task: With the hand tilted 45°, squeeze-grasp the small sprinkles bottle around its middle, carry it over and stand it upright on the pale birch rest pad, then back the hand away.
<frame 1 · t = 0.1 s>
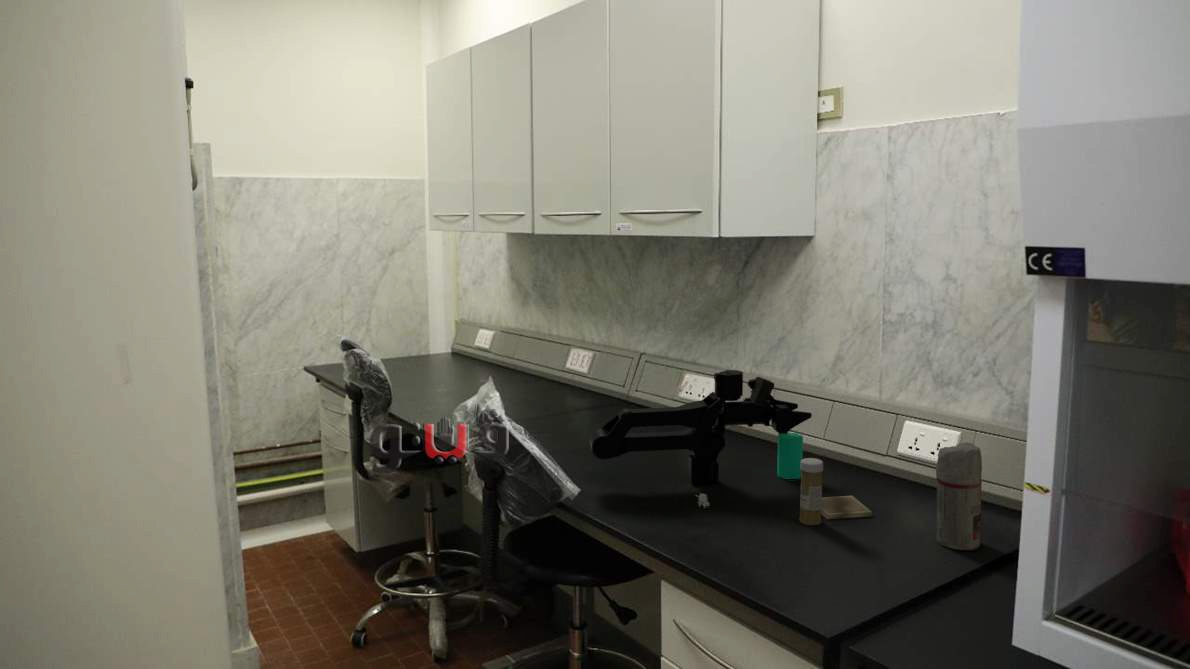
hand: (804, 410, 197), 17 cm above the lab bench, tool horizontal, fingers open, 9 cm apart
candle: (789, 477, 199), on the lab bench
sprinkles bottle: (810, 523, 170), on the lab bench
small grey figurine: (699, 510, 179), on the lab bench
spray can: (957, 544, 158), on the lab bench
rest pad: (839, 509, 177), on the lab bench
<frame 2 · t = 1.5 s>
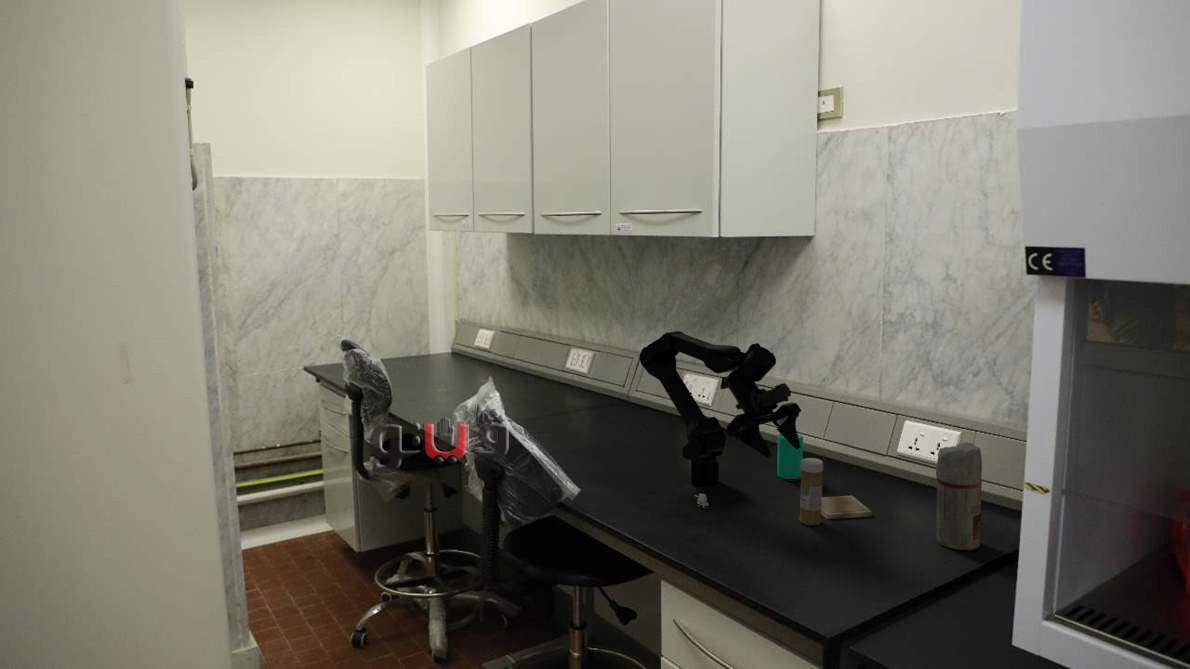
hand: (784, 452, 174), 13 cm above the lab bench, tool tilted 45°, fingers open, 9 cm apart
nothing on the lab bench moved.
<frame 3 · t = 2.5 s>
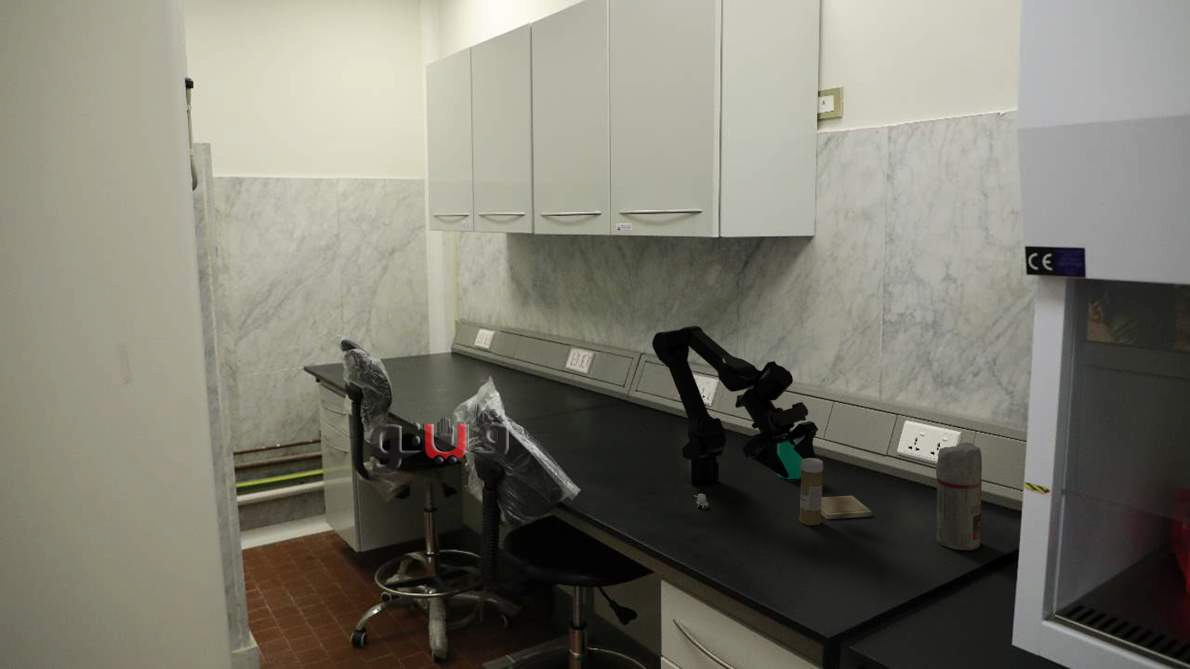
hand: (802, 472, 170), 10 cm above the lab bench, tool tilted 45°, fingers open, 9 cm apart
nothing on the lab bench moved.
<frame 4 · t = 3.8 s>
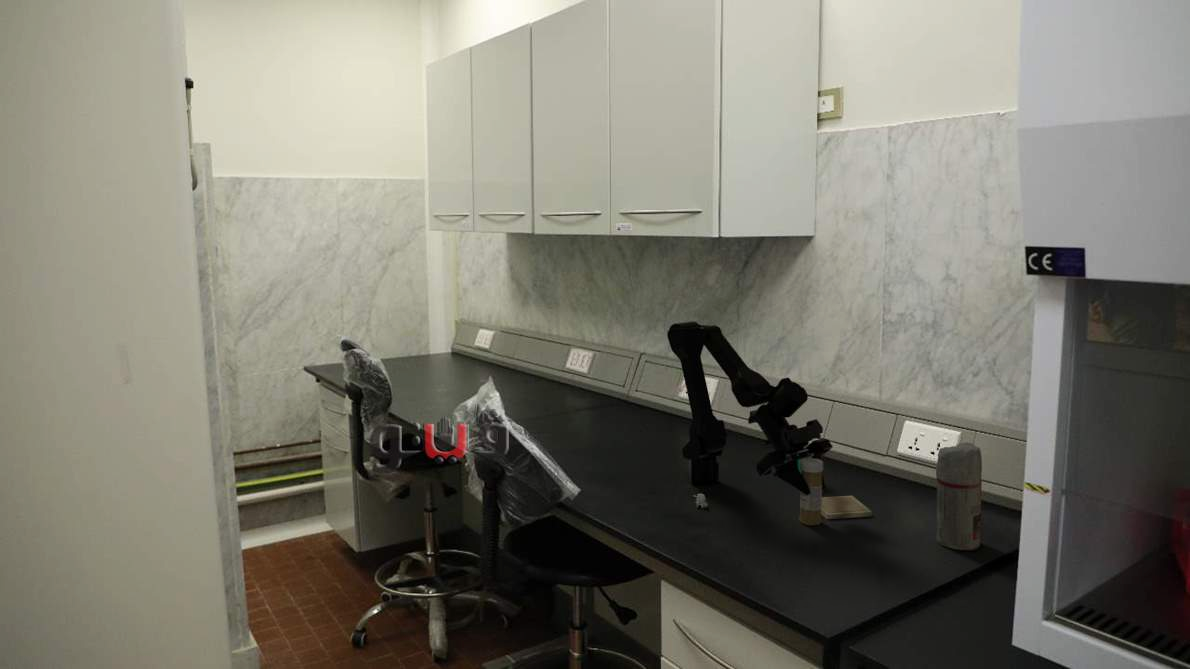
hand: (816, 491, 168), 7 cm above the lab bench, tool tilted 45°, fingers closed on sprinkles bottle, 4 cm apart
sprinkles bottle: (810, 523, 170), on the lab bench, touching gripper
everything else where it was.
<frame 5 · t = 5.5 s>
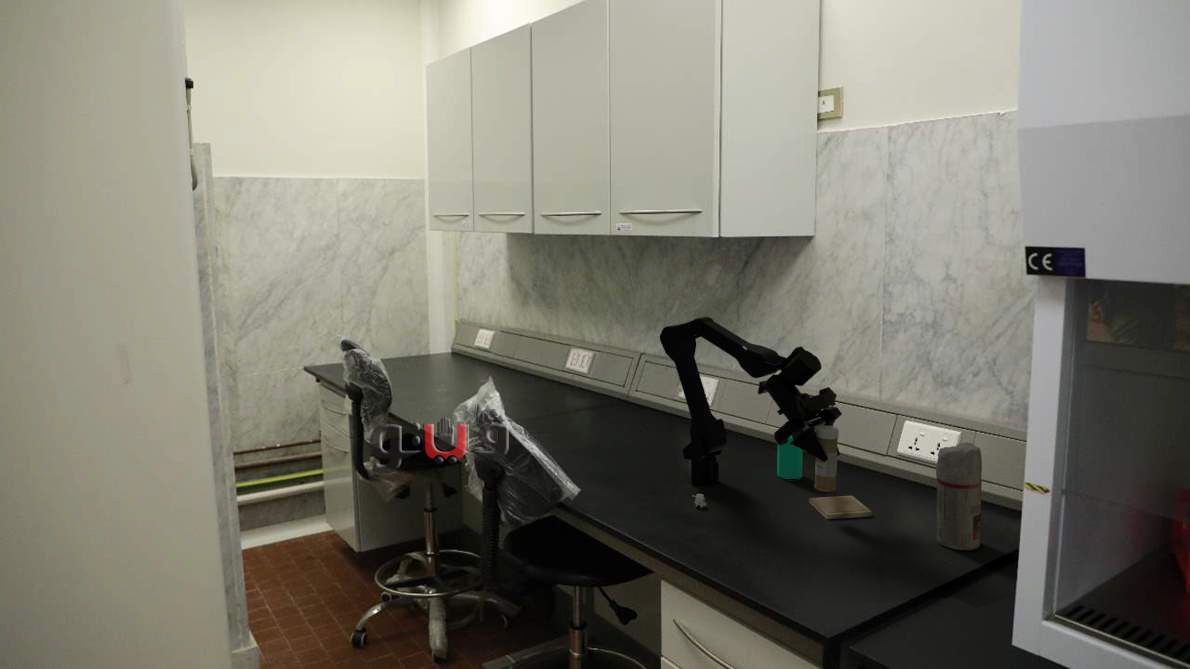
hand: (832, 458, 170), 13 cm above the lab bench, tool tilted 45°, fingers closed on sprinkles bottle, 4 cm apart
sprinkles bottle: (825, 489, 172), point 6 cm above the lab bench, touching gripper
everything else where it was.
when the fingers open (9 cm above the lab bench, at t = 7.0 s): sprinkles bottle stays where it is, resting on rest pad.
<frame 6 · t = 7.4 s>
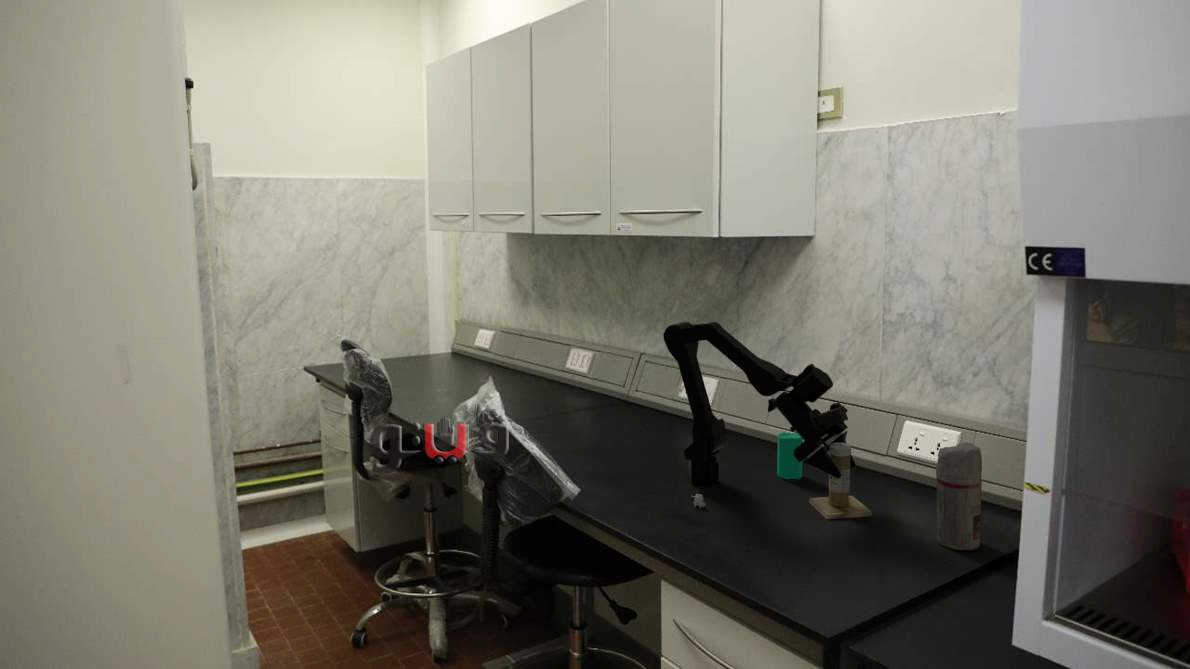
hand: (847, 471, 175), 9 cm above the lab bench, tool tilted 45°, fingers open, 8 cm apart
sprinkles bottle: (838, 505, 177), point 1 cm above the lab bench, touching rest pad
everything else where it was.
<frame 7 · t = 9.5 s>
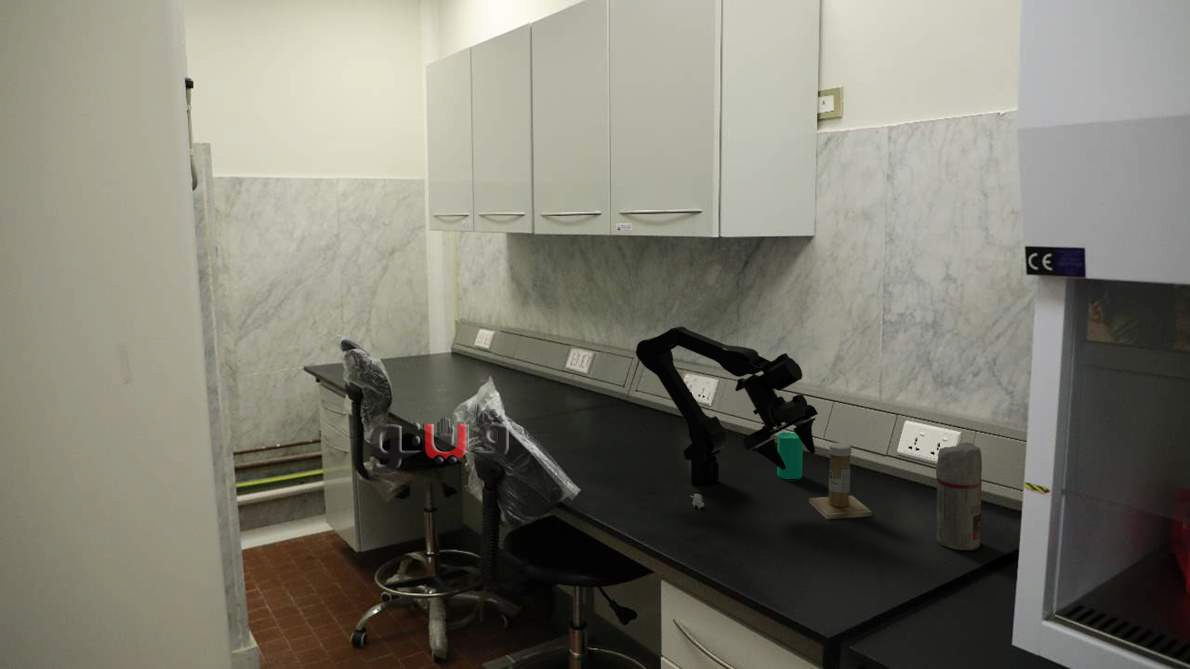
hand: (799, 461, 180), 10 cm above the lab bench, tool tilted 35°, fingers open, 9 cm apart
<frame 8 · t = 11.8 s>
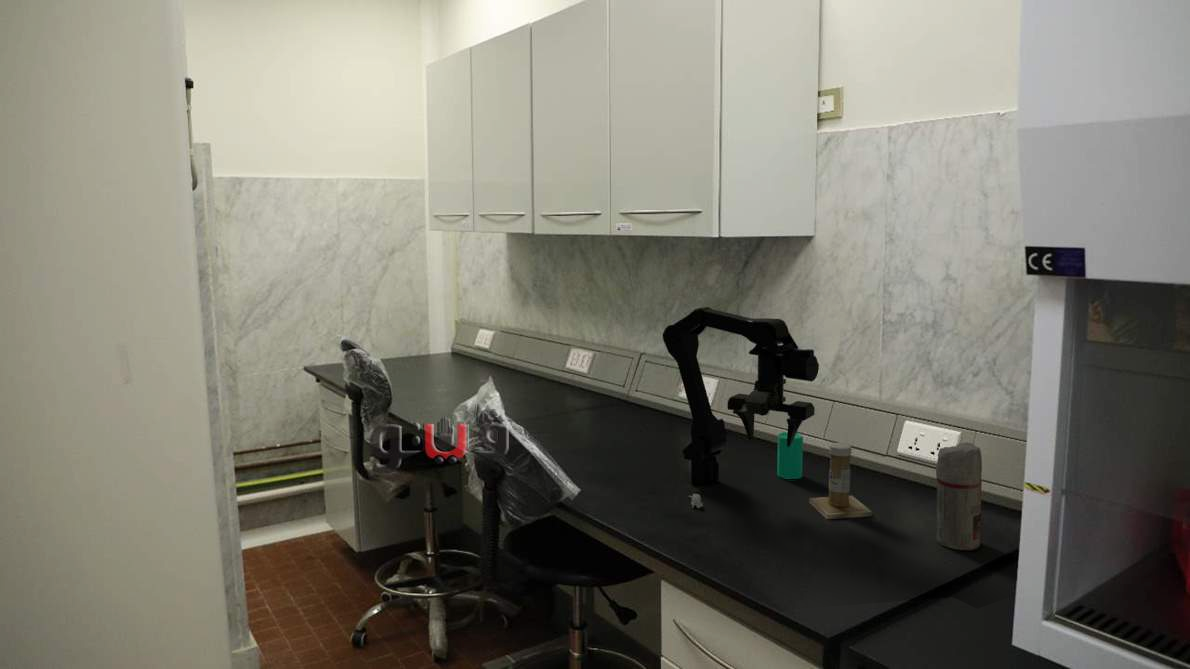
hand: (769, 443, 182), 13 cm above the lab bench, tool pointing down, fingers open, 9 cm apart
at the end: sprinkles bottle 0.2 cm from the rest pad (horizontally); sprinkles bottle tilted 0°; the gripper is holding nothing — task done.
